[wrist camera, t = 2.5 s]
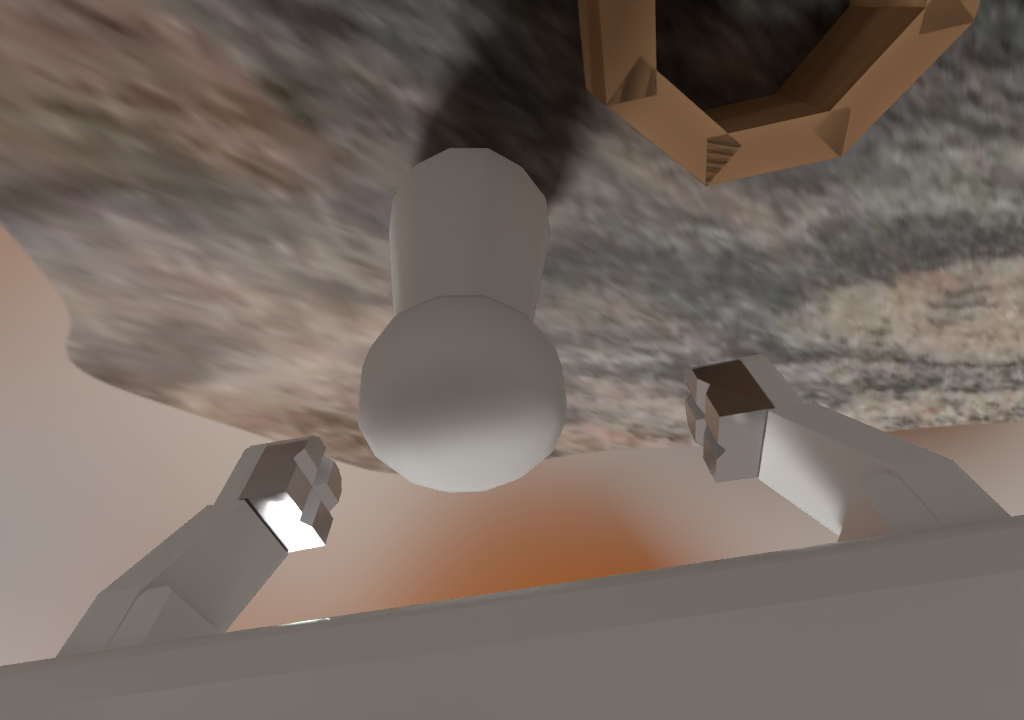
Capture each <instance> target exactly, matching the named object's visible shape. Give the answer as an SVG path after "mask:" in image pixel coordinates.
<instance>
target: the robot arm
mask: <svg viewBox="0 0 1024 720" xmlns="http://www.w3.org/2000/svg"><path fill="white" fill-rule="evenodd" d="M686 385H687V387H688V389H689V391H690V393H691V394H690V395H689V396H688V397H687V399H686V415H687V421H688V425H689V428H690V431H691V434H692V436H693V438H694V440H695V442H696V443H698V444H699V445H701V446H703V459H704V461H705V463H706V465H707V467H708V469H709V471H710V473H711V475H712V477H713V479H714V481H715V482H723V481H731V480H739V479H746V478H754V477H759V480H761V481H762V482H764V483H765V484H766V485H768V486H770V487H771V488H772V489H773V490H775V491H776V492H778V493H779V494H781V495H782V496H783V497H785V498H786V499H788V500H789V501H790V502H792V503H793V504H795V505H796V506H798V507H799V508H800V509H802V510H803V511H804V512H806V513H807V514H809V515H810V516H811V517H813V518H814V519H816V520H817V521H818V522H820V523H821V524H823V525H824V526H825V527H827V528H828V529H830V530H831V531H832V532H834V533H835V534H837V535H838V536H839V539H838V542H837V543H830V544H823V545H816V546H809V547H802V548H796V549H789V550H782V551H775V552H768V553H762V554H755V555H748V556H741V557H735V558H729V559H721V560H714V561H708V562H702V563H694V564H688V565H680V566H674V567H667V568H661V569H654V570H647V571H640V572H633V573H626V574H620V575H613V576H606V577H600V578H593V579H586V580H580V581H573V582H566V583H559V584H553V585H546V586H539V587H532V588H526V589H519V590H512V591H505V592H498V593H492V594H485V595H478V596H471V597H465V598H457V599H451V600H444V601H437V602H430V603H424V604H417V605H410V606H403V607H396V608H390V609H383V610H376V611H369V612H362V613H356V614H349V615H342V616H336V617H329V618H322V619H315V620H308V621H302V622H295V623H288V624H281V625H275V626H269V627H261V628H255V629H248V630H241V631H234V632H227V633H225V631H226V630H227V629H228V628H229V626H230V625H231V624H232V623H233V622H234V620H235V619H236V618H237V617H238V615H239V614H240V613H241V612H242V611H243V609H244V608H245V607H246V606H247V604H248V603H249V602H250V601H251V600H252V598H253V597H254V596H255V595H256V593H257V592H258V591H259V589H260V588H261V587H262V586H263V585H264V584H265V582H266V581H267V580H268V579H269V577H270V576H271V575H272V574H273V572H274V571H275V570H276V569H277V568H278V566H279V565H280V564H281V563H282V561H283V560H284V559H285V558H286V557H287V555H288V553H287V552H292V551H298V550H303V549H308V548H313V547H319V546H324V545H325V544H326V541H327V537H328V534H329V531H330V528H331V524H332V521H333V518H332V516H331V514H330V512H329V511H330V510H331V509H332V508H333V507H334V506H335V505H336V504H337V503H338V502H339V498H340V495H341V476H340V472H339V469H338V467H337V465H336V464H335V462H334V461H333V460H331V459H329V458H327V457H325V456H324V452H325V449H326V447H325V445H324V444H323V442H322V441H321V439H320V438H319V437H316V436H309V437H302V438H296V439H290V440H283V441H277V442H272V443H267V444H260V445H254V446H250V447H249V448H247V449H246V450H245V451H244V452H243V454H242V456H241V458H240V459H239V461H238V463H237V465H236V466H235V468H234V470H233V472H232V474H231V475H230V477H229V479H228V481H227V482H226V484H225V486H224V488H223V490H222V491H221V493H220V495H219V496H218V498H217V500H216V502H215V504H214V505H209V506H206V507H205V508H204V509H203V510H201V511H200V512H199V513H198V514H196V515H195V516H194V517H193V518H192V519H190V520H189V521H188V522H187V523H185V524H184V525H183V526H182V527H181V528H179V529H178V530H177V531H176V532H174V533H173V534H172V535H171V536H169V537H168V538H167V539H166V540H164V541H163V542H162V543H161V544H160V545H158V546H157V547H156V548H155V549H153V550H152V551H151V552H150V553H149V554H147V555H146V556H145V557H144V558H143V559H141V560H140V561H139V562H137V563H136V564H135V565H134V566H133V567H132V568H130V569H129V570H128V571H126V572H125V573H124V574H123V575H122V576H120V577H119V578H118V579H117V580H115V581H114V582H113V583H112V584H110V585H109V586H108V587H107V588H106V589H104V590H103V591H102V592H101V593H99V594H98V595H97V597H96V598H95V600H94V601H93V603H92V604H91V606H90V607H89V609H88V610H87V612H86V613H85V615H84V616H83V618H82V619H81V621H80V622H79V623H78V625H77V626H76V628H75V629H74V631H73V632H72V634H71V635H70V637H69V638H68V640H67V641H66V643H65V644H64V646H63V647H62V649H61V650H60V652H59V653H58V655H57V656H56V657H55V658H51V659H44V660H38V661H31V662H24V663H17V664H12V665H4V666H0V720H1024V515H1020V516H1013V517H1011V516H1010V515H1009V514H1008V513H1007V512H1006V511H1005V510H1004V509H1003V508H1002V507H1001V506H1000V505H999V504H998V503H996V502H995V501H994V500H993V499H992V498H991V497H990V496H989V495H988V494H987V493H986V492H985V491H984V490H983V489H982V488H981V487H980V486H979V485H978V484H977V483H976V482H975V481H974V480H973V479H971V478H970V477H969V476H968V475H967V474H966V473H965V472H964V471H963V470H962V469H961V468H960V467H959V466H958V465H957V464H956V463H955V462H954V461H953V460H950V459H948V458H946V457H943V456H941V455H939V454H936V453H934V452H931V451H929V450H927V449H924V448H922V447H919V446H917V445H914V444H912V443H910V442H907V441H905V440H902V439H900V438H898V437H895V436H893V435H891V434H888V433H886V432H883V431H881V430H879V429H876V428H874V427H871V426H869V425H867V424H864V423H862V422H859V421H857V420H855V419H852V418H850V417H847V416H845V415H843V414H840V413H838V412H835V411H833V410H831V409H828V408H826V407H823V406H821V405H819V404H816V403H814V402H811V403H805V402H804V401H803V400H802V399H801V397H800V396H799V395H798V394H797V393H796V391H795V390H794V389H793V388H792V387H791V385H790V384H789V383H788V382H787V381H786V379H785V378H784V377H783V376H782V375H781V373H780V372H779V371H778V370H777V369H776V367H775V366H774V365H773V364H772V363H771V361H770V360H769V359H768V358H767V357H766V356H765V355H763V354H758V355H753V356H748V357H743V358H738V359H736V360H731V361H725V362H720V363H715V364H709V365H704V366H698V367H693V368H688V369H687V372H686Z"/></svg>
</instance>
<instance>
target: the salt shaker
mask: <svg viewBox="0 0 1024 720" xmlns="http://www.w3.org/2000/svg"><path fill="white" fill-rule="evenodd" d="M549 237H550V227H549V220H548V212H547V205H546V198H545V197H544V195H543V194H542V193H541V191H540V190H539V189H538V187H537V186H536V185H535V183H534V182H533V181H532V179H531V178H530V177H529V175H528V174H527V173H526V171H525V170H524V169H523V168H522V167H521V166H520V165H518V164H516V163H514V162H512V161H510V160H509V159H507V158H505V157H503V156H501V155H500V154H498V153H496V152H494V151H492V150H490V149H489V148H449V149H447V150H445V151H443V152H441V153H439V154H437V155H435V156H433V157H431V158H429V159H427V160H425V161H422V162H420V163H418V164H417V165H415V166H414V168H413V169H412V171H411V172H410V173H409V175H408V176H407V178H406V179H405V181H404V182H403V184H402V185H401V187H400V188H399V190H398V191H397V192H396V194H395V195H394V197H393V204H392V213H391V221H390V230H389V238H390V256H391V273H392V291H393V309H394V318H393V319H392V321H391V322H390V323H389V324H388V326H387V327H386V328H385V330H384V331H383V332H382V333H381V335H380V336H379V337H378V339H377V340H376V341H375V342H374V344H373V345H372V346H371V348H370V349H369V352H368V354H367V357H366V359H365V362H364V364H363V367H362V376H361V384H360V393H359V402H358V426H359V428H360V430H361V432H362V433H363V435H364V437H365V439H366V441H367V442H368V444H369V446H370V448H371V449H372V451H373V453H374V455H375V456H376V457H377V458H379V459H380V460H381V461H383V462H384V463H385V464H387V465H388V466H389V467H391V468H392V469H394V470H395V471H396V472H398V473H399V474H401V475H402V476H403V477H405V478H406V479H408V480H409V481H410V482H412V483H414V484H418V485H422V486H426V487H429V488H433V489H437V490H440V491H445V492H473V491H474V492H475V491H485V490H488V489H491V488H494V487H497V486H499V485H502V484H505V483H508V482H511V481H514V480H516V479H518V478H520V477H521V476H523V475H525V474H526V473H527V472H528V471H530V470H531V469H532V468H533V467H535V466H536V465H537V464H538V463H540V462H541V461H542V460H543V459H545V458H546V457H547V456H548V455H549V454H551V453H552V452H553V450H554V448H555V445H556V443H557V441H558V438H559V436H560V433H561V431H562V428H563V426H564V424H565V421H566V400H567V399H566V393H565V387H564V380H563V374H562V368H561V363H560V360H559V357H558V354H557V352H556V349H555V346H554V345H553V344H552V343H551V342H550V341H549V339H548V338H547V337H546V336H545V335H544V334H543V333H542V332H541V331H540V329H539V328H538V327H537V326H536V325H535V324H534V323H533V319H534V314H535V309H536V304H537V299H538V294H539V288H540V283H541V278H542V273H543V268H544V263H545V258H546V252H547V247H548V242H549Z"/></svg>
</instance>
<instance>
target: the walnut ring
mask: <svg viewBox="0 0 1024 720" xmlns="http://www.w3.org/2000/svg"><path fill="white" fill-rule="evenodd" d="M577 2H578V13H579V23H580V34H581V44H582V55H583V65H584V76H585V86H586V88H585V89H586V90H587V91H588V92H589V93H591V94H592V95H593V96H594V97H596V98H597V99H598V100H599V101H601V102H602V103H603V104H604V105H606V106H608V107H609V108H610V109H611V110H613V111H614V112H615V113H616V114H618V115H619V116H620V117H621V118H623V119H624V120H625V121H626V122H627V123H629V124H630V125H631V126H632V127H634V128H635V129H636V130H637V131H639V132H640V133H641V134H642V135H644V136H645V137H646V138H647V139H649V140H650V141H651V142H652V143H654V144H655V145H656V146H657V147H659V148H660V149H661V150H662V151H664V152H665V153H666V154H667V155H668V156H670V157H671V158H672V159H673V160H674V161H675V162H676V163H678V164H679V165H680V166H681V167H683V168H684V169H685V170H686V171H688V172H689V173H690V174H691V175H693V176H694V177H695V178H696V179H698V180H699V181H700V182H701V183H703V184H704V185H705V186H707V185H711V184H716V183H721V182H725V181H730V180H735V179H739V178H744V177H749V176H753V175H758V174H763V173H767V172H772V171H777V170H781V169H786V168H791V167H795V166H800V165H805V164H809V163H814V162H819V161H823V160H828V159H833V158H837V157H842V155H843V154H844V153H845V152H846V151H847V150H848V149H849V148H850V147H851V146H852V145H853V144H854V143H855V142H856V141H857V140H858V139H859V138H860V137H861V136H862V135H863V134H864V133H865V132H866V131H867V130H868V129H869V128H870V127H871V125H872V124H873V123H874V122H875V121H876V120H877V119H878V118H879V117H880V116H881V115H882V114H883V113H884V112H885V111H886V110H887V109H888V108H889V107H890V106H891V105H892V104H893V103H894V102H895V101H896V100H897V99H898V98H899V97H900V96H901V95H902V94H903V93H904V92H905V91H906V90H907V89H908V88H909V87H910V86H911V85H912V84H913V83H914V82H915V81H916V80H917V79H918V78H919V77H920V76H921V75H922V74H923V73H924V72H925V71H926V70H927V68H928V67H929V66H930V65H931V64H932V63H933V62H934V61H935V60H936V59H937V58H938V57H939V56H940V55H941V54H942V53H943V52H944V51H945V50H946V49H947V48H948V47H949V46H950V45H951V44H952V43H953V42H954V41H955V40H956V39H957V38H958V37H959V36H960V35H961V34H962V33H963V32H964V31H965V30H966V29H967V28H968V27H969V26H970V25H971V24H972V23H973V22H974V21H975V20H974V19H975V16H976V13H977V9H978V6H979V3H980V0H850V1H849V7H848V8H847V9H846V10H845V12H844V13H843V14H842V15H841V16H840V17H839V19H838V20H837V21H836V22H835V23H834V24H833V26H832V27H831V28H830V29H829V30H828V32H827V33H826V34H825V35H824V36H823V37H822V39H821V40H820V41H819V42H818V43H817V44H816V46H815V47H814V48H813V49H812V50H811V51H810V53H809V54H808V55H807V56H806V57H805V59H804V60H803V61H802V62H801V63H800V64H799V66H798V67H797V68H796V69H795V70H794V71H793V73H792V74H791V75H790V76H789V77H788V78H787V80H786V81H785V82H784V83H783V84H782V85H781V87H780V88H779V89H778V90H777V91H776V93H775V94H772V95H768V96H763V97H759V98H754V99H750V100H745V101H741V102H737V103H732V104H728V105H723V106H719V107H714V108H710V109H706V110H701V109H700V108H699V107H698V106H696V105H695V104H694V103H693V102H692V101H691V100H690V99H688V98H687V97H686V96H685V95H684V94H683V93H682V92H681V91H679V90H678V89H677V88H676V87H675V86H674V85H673V84H672V83H670V82H669V81H668V80H667V79H666V78H665V77H664V76H662V75H661V74H660V73H659V72H658V71H657V70H656V19H655V0H577Z"/></svg>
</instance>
